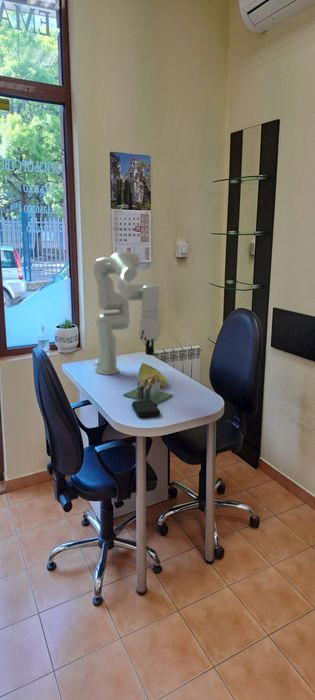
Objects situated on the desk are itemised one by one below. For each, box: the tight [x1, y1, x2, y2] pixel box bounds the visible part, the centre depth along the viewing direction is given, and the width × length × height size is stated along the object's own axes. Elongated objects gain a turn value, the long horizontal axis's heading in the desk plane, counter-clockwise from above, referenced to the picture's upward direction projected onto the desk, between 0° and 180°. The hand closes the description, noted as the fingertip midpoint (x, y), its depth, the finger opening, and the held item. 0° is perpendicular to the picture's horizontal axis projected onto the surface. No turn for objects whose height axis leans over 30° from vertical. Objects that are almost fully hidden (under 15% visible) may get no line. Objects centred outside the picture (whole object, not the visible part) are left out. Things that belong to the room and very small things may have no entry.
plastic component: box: [137, 362, 168, 388], centre depth 224 cm, size 20×7×10 cm
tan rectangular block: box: [140, 373, 157, 388], centre depth 203 cm, size 2×9×4 cm, turn 147°
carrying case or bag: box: [131, 400, 161, 419], centre depth 186 cm, size 11×3×15 cm
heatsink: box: [122, 380, 174, 405], centre depth 204 cm, size 18×15×7 cm
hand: (149, 354), depth 199 cm, fingers closed
